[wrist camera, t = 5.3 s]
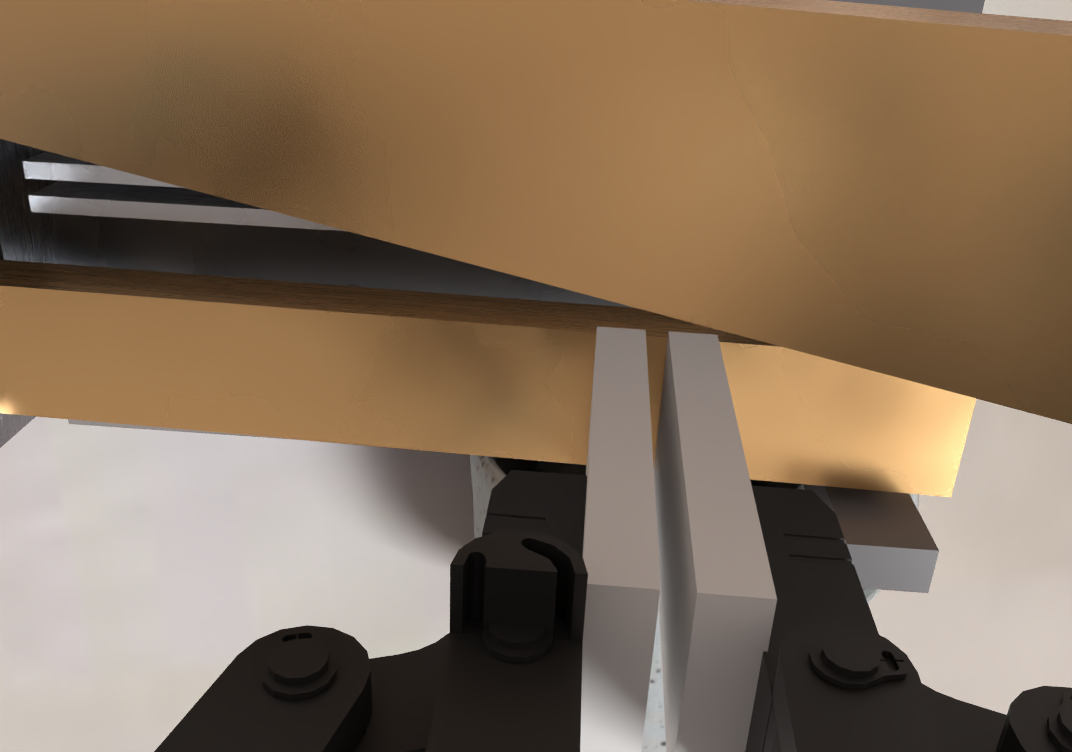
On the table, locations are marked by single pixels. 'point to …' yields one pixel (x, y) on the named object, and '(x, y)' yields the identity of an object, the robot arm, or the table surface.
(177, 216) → the gray cradle frame
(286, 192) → the strap near
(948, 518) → the table surface
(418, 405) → the orange long bar
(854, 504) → the lug bar
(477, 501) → the ceramic mug
